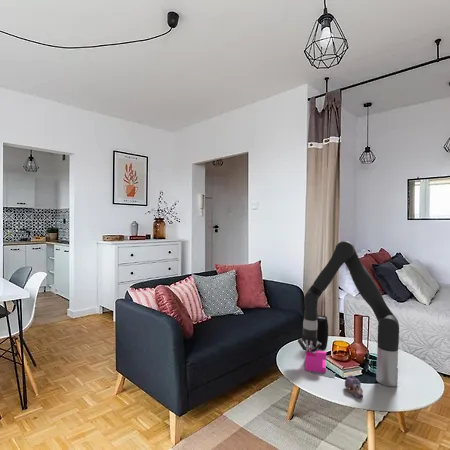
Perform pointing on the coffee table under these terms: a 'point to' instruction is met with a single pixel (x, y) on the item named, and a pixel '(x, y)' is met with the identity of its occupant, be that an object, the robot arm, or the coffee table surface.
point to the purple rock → (354, 386)
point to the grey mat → (327, 374)
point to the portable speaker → (322, 331)
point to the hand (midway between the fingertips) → (308, 358)
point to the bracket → (315, 361)
